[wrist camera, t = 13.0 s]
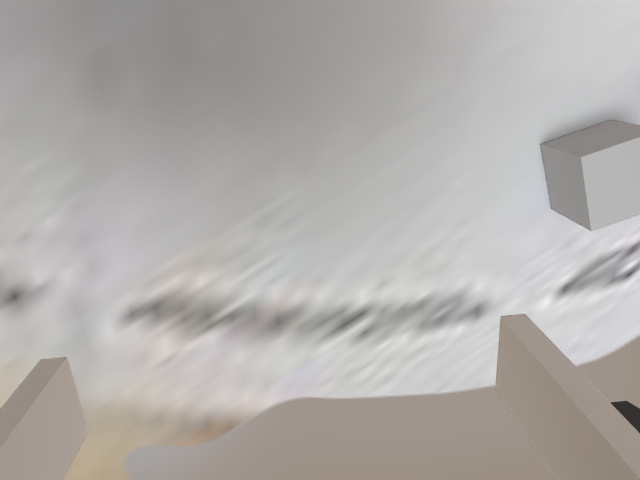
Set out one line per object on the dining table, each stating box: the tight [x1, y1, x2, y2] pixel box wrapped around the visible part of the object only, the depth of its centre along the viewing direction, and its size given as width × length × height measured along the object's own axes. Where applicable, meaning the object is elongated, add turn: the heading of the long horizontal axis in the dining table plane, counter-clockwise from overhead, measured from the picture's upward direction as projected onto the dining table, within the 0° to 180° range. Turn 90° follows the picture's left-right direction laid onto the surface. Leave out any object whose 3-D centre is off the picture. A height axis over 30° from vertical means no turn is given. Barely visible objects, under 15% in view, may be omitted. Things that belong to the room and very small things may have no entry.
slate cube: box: [540, 120, 640, 231], centre depth 39 cm, size 6×6×6 cm
